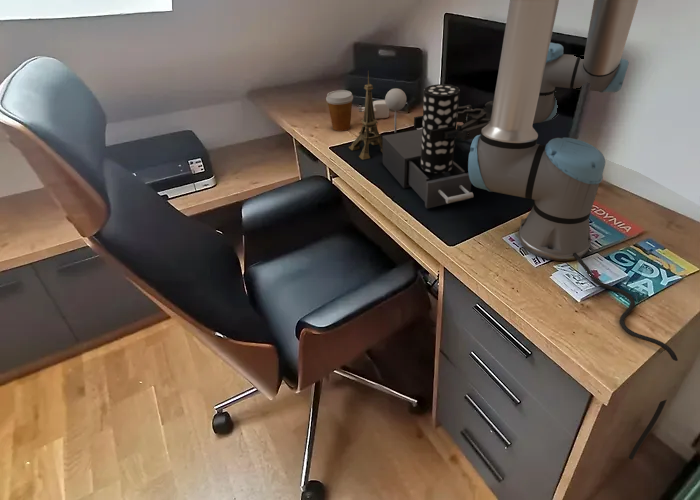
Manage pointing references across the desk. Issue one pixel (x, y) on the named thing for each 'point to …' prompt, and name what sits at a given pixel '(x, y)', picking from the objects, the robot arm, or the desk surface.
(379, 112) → the power adapter
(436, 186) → the drawer
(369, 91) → the eiffel tower
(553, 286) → the desk surface
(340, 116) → the disposable coffee cup
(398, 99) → the lollipop
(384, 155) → the cabinet
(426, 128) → the white-spotted black cylinder
